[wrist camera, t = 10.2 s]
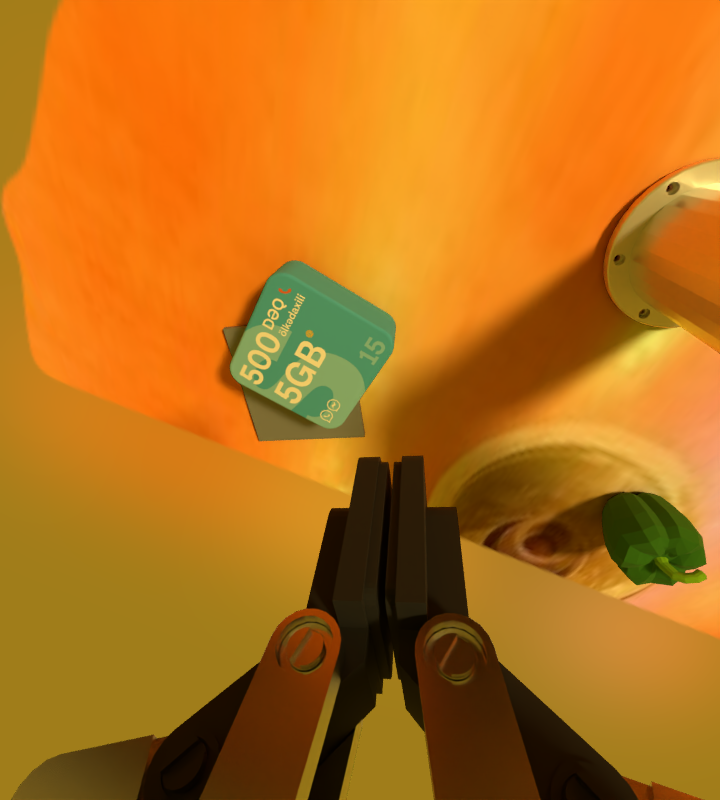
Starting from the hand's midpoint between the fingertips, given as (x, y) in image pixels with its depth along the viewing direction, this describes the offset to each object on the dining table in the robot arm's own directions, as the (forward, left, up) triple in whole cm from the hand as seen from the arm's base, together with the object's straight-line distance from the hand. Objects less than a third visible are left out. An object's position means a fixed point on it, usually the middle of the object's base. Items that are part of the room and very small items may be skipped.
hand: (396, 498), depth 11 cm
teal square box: (+5, +11, -26) cm, 29 cm away
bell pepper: (-23, +31, -29) cm, 48 cm away
